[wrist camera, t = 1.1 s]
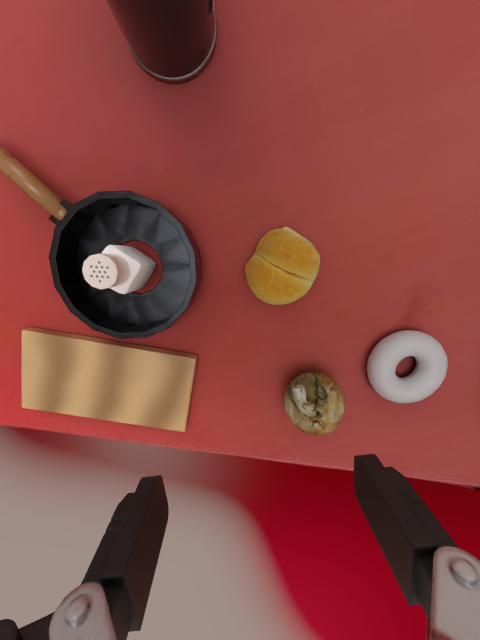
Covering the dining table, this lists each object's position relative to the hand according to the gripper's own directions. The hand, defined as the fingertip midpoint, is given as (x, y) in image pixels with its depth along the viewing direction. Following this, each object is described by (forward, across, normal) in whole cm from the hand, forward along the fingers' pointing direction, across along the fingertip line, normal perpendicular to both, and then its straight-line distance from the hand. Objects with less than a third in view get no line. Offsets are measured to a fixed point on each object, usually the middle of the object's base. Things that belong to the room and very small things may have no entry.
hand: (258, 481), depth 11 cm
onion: (+25, -8, +10) cm, 28 cm away
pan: (+25, +16, -13) cm, 33 cm away
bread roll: (+25, -6, -7) cm, 27 cm away
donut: (+25, -21, +8) cm, 33 cm away
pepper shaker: (+26, +12, -9) cm, 30 cm away
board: (+25, +19, +6) cm, 32 cm away
